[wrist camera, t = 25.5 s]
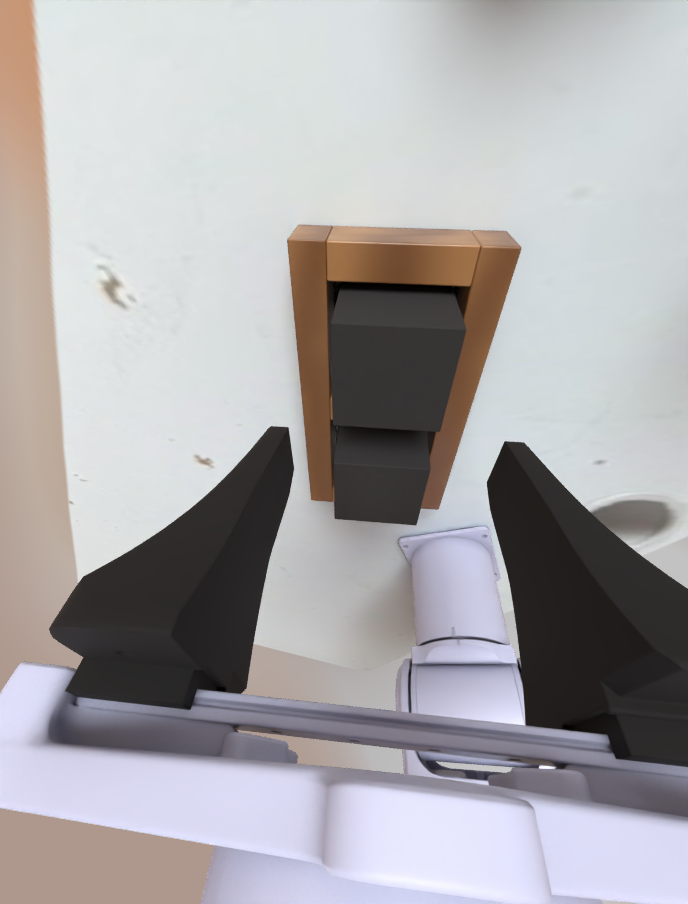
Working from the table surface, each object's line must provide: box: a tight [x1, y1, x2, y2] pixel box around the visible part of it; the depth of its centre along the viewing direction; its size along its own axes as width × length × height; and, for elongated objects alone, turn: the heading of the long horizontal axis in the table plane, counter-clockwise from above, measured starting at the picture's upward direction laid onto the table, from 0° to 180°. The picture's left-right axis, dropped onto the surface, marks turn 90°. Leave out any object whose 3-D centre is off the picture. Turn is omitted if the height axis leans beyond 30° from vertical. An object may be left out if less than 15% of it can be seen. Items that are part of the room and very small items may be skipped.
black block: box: [331, 282, 467, 432], centre depth 17 cm, size 5×5×6 cm
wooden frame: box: [287, 225, 521, 509], centre depth 21 cm, size 9×17×2 cm, turn 179°
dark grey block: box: [334, 426, 431, 525], centre depth 23 cm, size 5×5×6 cm
